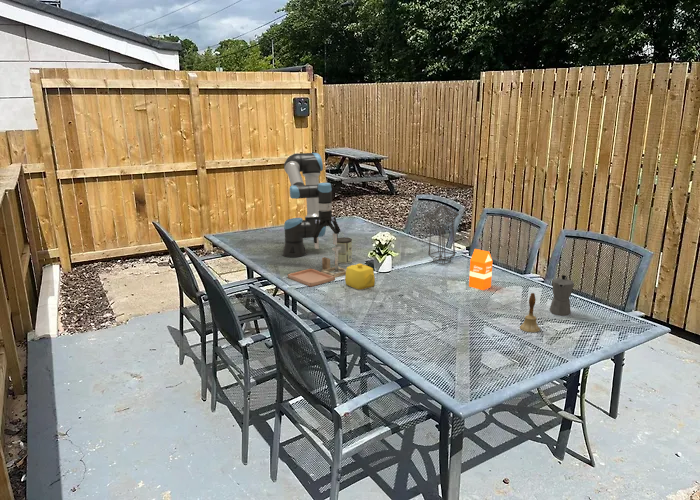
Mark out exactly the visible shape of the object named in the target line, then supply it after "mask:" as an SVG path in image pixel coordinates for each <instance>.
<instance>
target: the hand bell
mask: <svg viewBox="0 0 700 500" xmlns="http://www.w3.org/2000/svg"><path fill="white" fill-rule="evenodd" d="M536 300H537V299H536V295H535V293H534V292H532V293H530V296H529V299H528V305H529V311H528V314H527V315H526V316H524V321H523V323H522V324H521V325H520V326H519V329H520V330H521V331H523V332H526V333H537V332H540V331H541V328H540V327H539V325H538V323H537V317H536V316H535V315H534V308H535V305H536Z"/></svg>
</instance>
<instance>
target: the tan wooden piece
mask: <svg viewBox="0 0 700 500" xmlns="http://www.w3.org/2000/svg"><path fill="white" fill-rule="evenodd" d="M321 261H322V262H321V264H322V265H321V267H322V268H321V270H320V272H323V273H326V274H328V275H331V276H334V277H335V278H339V277H342V276H345V275H346V269H347V268H343V267H342V266H341V267H340V266H338V271H340V273H336V274H333V271H335V266H332V267H331V258H328V257H322V258H321Z"/></svg>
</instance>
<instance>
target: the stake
mask: <svg viewBox="0 0 700 500" xmlns="http://www.w3.org/2000/svg"><path fill="white" fill-rule="evenodd" d="M340 249H341V247H340V246H339V247H332V248H331V251H333V252H334V267H335V270H334V271H332V273H333V274H336V273H340V272H341V271H339V270H338V267H339V263H338V250H340Z"/></svg>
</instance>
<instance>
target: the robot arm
mask: <svg viewBox="0 0 700 500" xmlns="http://www.w3.org/2000/svg"><path fill="white" fill-rule="evenodd" d="M321 156H322V155H320V153H318V152H307V153H306V152H302V153H301V152H300V153H298V152H297V153H293V154H291V155H289V156H288V157H287V158H285V159H286V160H285V161H284V163H283V168H284V172H285V173H286V174H287V178H288V179H289V182H290V187H289V197H290V199H292V200H293V199H294V200H295V199H296V200H298V199H306V212H307V213H306V215H305V216H304V219H303V218H302V217H293V218H287V220H285V221H284V226H283V227H284V228H283V229H284V245H283V250H282V256H284V257H287V258H299V257H304V256H305V255H307V250H306V247H305V246H306V245H305V244H304V239H310V238H311V239H313V243H314V249H316V250H319V248H320V245H319V243H320V241H319V238H321V237H324V236H325V234H326V231H327V227H329V229H331V230H332V232H333V233H332V244H333V245H337V239H338V238H339V237H338V236H339V235H338V234H340V232H341V229H340V227H339V224H338V222H337V218H336V217H335V216H333V211H332V209H333V208H332V205H333V204H332V203H333V202H332V199H333V198H332V190H333V188H332V183H330V182H320V181H319V180H320V179H319V176H320V175H321V172H322V171H323V170H324V164H323V159H322V157H321ZM301 173H302V174H301ZM302 176H304V180H303V177H302ZM304 181H305V183H304Z"/></svg>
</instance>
